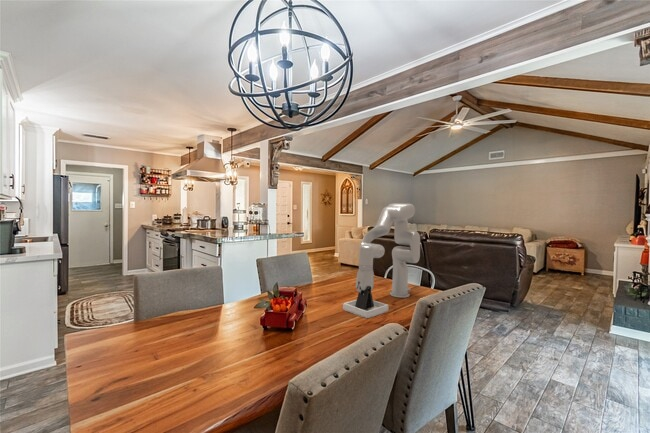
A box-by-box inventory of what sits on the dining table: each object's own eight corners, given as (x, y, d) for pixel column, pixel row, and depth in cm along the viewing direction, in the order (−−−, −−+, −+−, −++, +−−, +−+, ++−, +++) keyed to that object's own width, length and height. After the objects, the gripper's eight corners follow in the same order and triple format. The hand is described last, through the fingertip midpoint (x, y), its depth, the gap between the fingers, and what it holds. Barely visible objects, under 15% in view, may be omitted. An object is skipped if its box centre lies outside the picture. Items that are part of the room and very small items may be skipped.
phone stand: (363, 310, 158) (363, 287, 158) (354, 307, 163) (355, 285, 162) (374, 306, 164) (374, 285, 164) (365, 303, 169) (366, 282, 168)
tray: (364, 303, 176) (364, 297, 176) (388, 311, 164) (388, 304, 164) (342, 309, 164) (343, 303, 164) (366, 318, 152) (367, 312, 152)
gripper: (369, 265, 171) (368, 297, 171) (350, 268, 160) (349, 302, 161) (380, 267, 165) (379, 300, 166) (361, 271, 155) (360, 306, 155)
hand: (364, 301), depth 163 cm, fingers closed on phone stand, 1 cm apart
